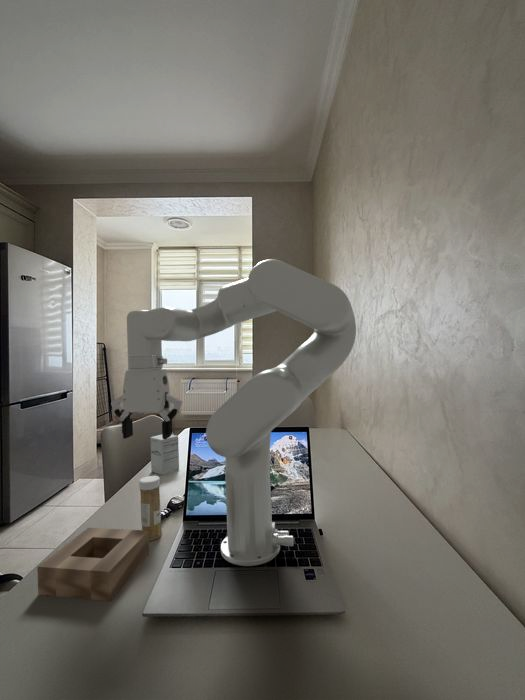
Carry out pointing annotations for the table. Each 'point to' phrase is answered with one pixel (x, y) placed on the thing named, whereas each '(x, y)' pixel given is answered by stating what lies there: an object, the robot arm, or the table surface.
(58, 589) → the socket block
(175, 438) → the supplement box
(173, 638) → the table surface
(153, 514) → the sprinkles bottle
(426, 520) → the table surface
